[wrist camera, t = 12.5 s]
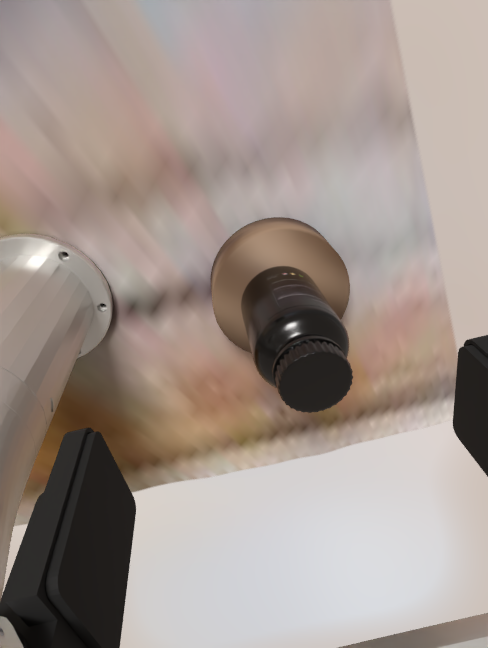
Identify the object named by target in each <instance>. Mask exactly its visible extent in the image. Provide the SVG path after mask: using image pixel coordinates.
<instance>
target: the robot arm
mask: <svg viewBox="0 0 488 648" xmlns="http://www.w3.org/2000/svg"><path fill="white" fill-rule="evenodd" d="M64 252H66V253H68V255H65V254H64ZM101 303H103V304H105V305H102V304H101ZM112 311H113V303H112V295H111V292H110V289H109V286H108V283H107V281H106V280H105V278H104V276H103V275H102V273H101V271H100V270H99V269H98V268H97V266H96V265H95V264H94V263H93V262H92V261H91V260H90V259H89V258H88V257H87V256H85V255H84V254H83V253H82V252H81V251H79V250H77V249H76V248H74V247H72V246H71V245H69V244H67V243H65V242H62V241H60V240H57V239H55V238H52V237H47V236H43V235H38V234H15V235H8V236H5V237H2V238H0V648H119V647H120V639H121V630H122V622H123V614H124V606H125V597H126V589H127V581H128V573H129V563H130V556H131V548H132V540H133V531H134V523H135V514H136V505H135V500H134V497H133V495H132V493H131V491H130V489H129V487H128V485H127V483H126V482H125V480H124V478H123V476H122V474H121V472H120V470H119V468H118V466H117V464H116V462H115V460H114V458H113V456H112V454H111V452H110V450H109V448H108V446H107V444H106V442H105V441H104V439H103V437H102V435H101V433H100V432H94V431H93V430H92V429H91V428H85V429H81V430H76V431H72V432H68V433H66V434H65V436H64V437H63V440H62V443H61V446H60V449H59V452H58V455H57V457H56V460H55V463H54V466H53V469H52V472H51V474H50V477H49V480H48V483H47V486H46V489H45V492H44V493H42V494H41V495H40V496H39V498H38V500H37V502H36V504H35V507H34V510H33V512H32V515H31V518H30V521H29V523H28V526H27V529H26V532H25V535H24V537H23V540H22V543H21V545H20V548H19V551H18V554H17V556H16V559H15V562H14V565H13V568H12V570H11V573H10V576H9V578H8V581H7V584H6V587H5V590H4V592H3V595H2V591H3V585H4V579H5V573H6V566H7V560H8V554H9V546H10V541H11V536H12V531H13V527H14V523H15V519H16V515H17V511H18V507H19V504H20V501H21V498H22V495H23V492H24V489H25V486H26V483H27V481H28V478H29V475H30V473H31V470H32V467H33V465H34V462H35V460H36V457H37V455H38V452H39V450H40V448H41V445H42V443H43V440H44V437H45V435H46V433H47V430H48V428H49V425H50V423H51V420H52V418H53V416H54V413H55V411H56V408H57V406H58V403H59V401H60V399H61V396H62V394H63V391H64V389H65V386H66V384H67V382H68V379H69V377H70V374H71V372H72V369H73V367H74V365H75V362H76V360H77V359H78V358H80V357H82V356H84V355H86V354H87V353H89V352H90V351H92V350H93V349H94V348H95V347H96V346H98V344H99V343H100V342H101V341H102V339H103V338H104V337H105V335H106V332H107V330H108V328H109V326H110V322H111V319H112ZM453 428H454V431H455V433H456V435H457V437H458V438H459V440H460V441H461V442H462V444H463V445H464V446H465V447H466V449H467V450H468V451H469V453H470V454H471V455H472V457H473V458H474V459H475V461H476V462H477V463H478V464H479V466H480V467H481V468H482V469H483V471H484V472H485V473H486V475H487V476H488V335H486V336H482V337H477V338H473V339H469V340H466V342H465V343H464V347H461V348H460V349H459V352H458V364H457V377H456V389H455V402H454V415H453ZM1 596H2V598H1ZM339 648H488V613H486V614H481V615H477V616H472V617H468V618H464V619H459V620H455V621H451V622H446V623H442V624H437V625H433V626H429V627H424V628H420V629H416V630H412V631H407V632H403V633H399V634H394V635H390V636H386V637H382V638H377V639H373V640H369V641H364V642H360V643H356V644H352V645H348V646H343V647H339Z"/></svg>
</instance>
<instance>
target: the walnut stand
mask: <svg viewBox="0 0 488 648" xmlns="http://www.w3.org/2000/svg"><path fill="white" fill-rule="evenodd" d="M276 266H290V267H294V268H297V269H300V270H302V271H303V272H305V273H306V274H307V275H309V276H310V277H311V279H312V280H313V281H314V282H315V284H316V285H317V286H318V288H319V289H320V291H321V292H322V294H323V295H324V297H325V298H326V300H327V301H328V303H329V304H330V306H331V307H332V308H333V310H334V311H335V313H336V314H337V316H338V317H339V319H340V320H341V318H342V316H343V314H344V312H345V310H346V307H347V303H348V299H349V293H350V283H349V276H348V273H347V269H346V267H345V265H344V262H343V261H342V259H341V258H340V256H339V254H338V253H337V252H336V251H335V250H334V249H333V248H332V246H331V245H330V244H329V243H328V242H327V241H326V239H325V238H324V237H323V236H322V235H321V234H320V233H319V232H318V231H317V230H315V229H314V228H313V227H311V226H309V225H308V224H306V223H303V222H301V221H298V220H294V219H290V218H267V219H262V220H259V221H255V222H253V223H251V224H248V225H246V226H245V227H243V228H241V229H240V230H238V231H237V232H236V233H234V234H233V235H232V236H231V237H230V238H229V239H228V240H227V241H226V242H225V243H224V245H223V246H222V247H221V249H220V251H219V252H218V254H217V256H216V258H215V261H214V263H213V267H212V272H211V292H212V302H213V309H214V314H215V317H216V320H217V323H218V325H219V327H220V328H221V330H222V331H223V333H224V334H225V335H226V336H227V337H228V338H229V340H231V341H232V342H233V343H234V344H235V345H237V346H239V347H240V348H242V349H244V350H246V351H248V352H251V348H250V344H249V340H248V336H247V332H246V328H245V325H244V321H243V316H242V311H241V299H242V295H243V292H244V290H245V288H246V286H247V285H248V283H249V282H250V281H251V280H252V279H253V278H254V277H255V276H256V275H257V274H259V273H260V272H262V271H264V270H266V269H269V268H272V267H276ZM251 353H252V352H251Z"/></svg>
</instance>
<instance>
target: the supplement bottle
mask: <svg viewBox="0 0 488 648" xmlns="http://www.w3.org/2000/svg"><path fill="white" fill-rule="evenodd" d="M241 311H242V316H243V321H244V325H245V328H246V332H247V336H248V340H249V344H250V348H251V352H252V356H253V359H254V363H255V366H256V368H257V370H258V372H259V374H260V375H261V376H262V378H263V379H264V380H265V381H266V382H268V383H269V384H270V385H272V386H274V387H276V388H277V389H278V392H279V394H280V396H281V398H282V400H283V401H285V403H286V405H289V406H290V407H291V408H293V409H295V410H296V411H301V412H309V413H311V412H318V411H323V410H325V409H327V408H330V407H332V406H333V405H336V404H337V403H338V402H339V401H341V400H342V399H343V397H344V396H346V394H347V392H348V391H349V390H350V386H351V384H352V378H353V376H352V369H351V366H350V363H349V362H348V360H347V356H348V351H349V338H348V334H347V331H346V329H345V327H344V325H343V323H342V322H341V320H340V319H339V317H338V316H337V314H336V313H335V311H334V310H333V308H332V307H331V306H330V304H329V303H328V301H327V300H326V298H325V297H324V295H323V294H322V292H321V291H320V289H319V288H318V286H317V285H316V284H315V282H314V281H313V280H312V279H311V277H310V276H309V275H307V274H306V273H305V272H303V271H302V270H300V269H297V268H294V267H290V266H276V267H272V268H269V269H266V270H264V271H262V272H260V273H259V274H257V275H256V276H255V277H254V278H253V279H252V280H251V281H250V282H249V283H248V285H247V286H246V288H245V290H244V292H243V295H242V299H241Z"/></svg>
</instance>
